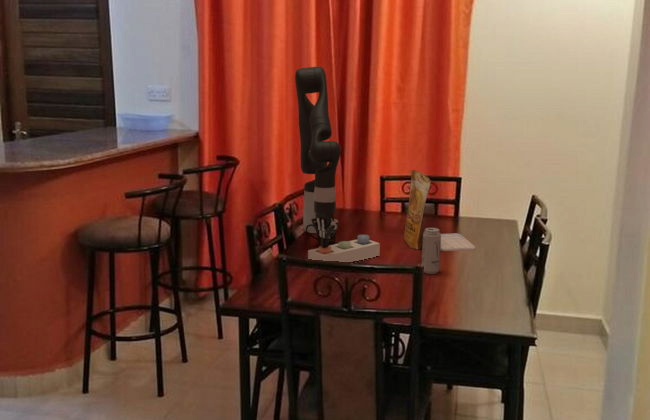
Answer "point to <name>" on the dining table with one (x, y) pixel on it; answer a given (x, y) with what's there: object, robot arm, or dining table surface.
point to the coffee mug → (331, 239)
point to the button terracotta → (324, 250)
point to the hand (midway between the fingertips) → (324, 247)
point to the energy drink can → (431, 250)
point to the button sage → (344, 245)
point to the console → (347, 252)
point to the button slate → (363, 239)
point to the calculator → (455, 243)
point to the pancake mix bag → (416, 209)
